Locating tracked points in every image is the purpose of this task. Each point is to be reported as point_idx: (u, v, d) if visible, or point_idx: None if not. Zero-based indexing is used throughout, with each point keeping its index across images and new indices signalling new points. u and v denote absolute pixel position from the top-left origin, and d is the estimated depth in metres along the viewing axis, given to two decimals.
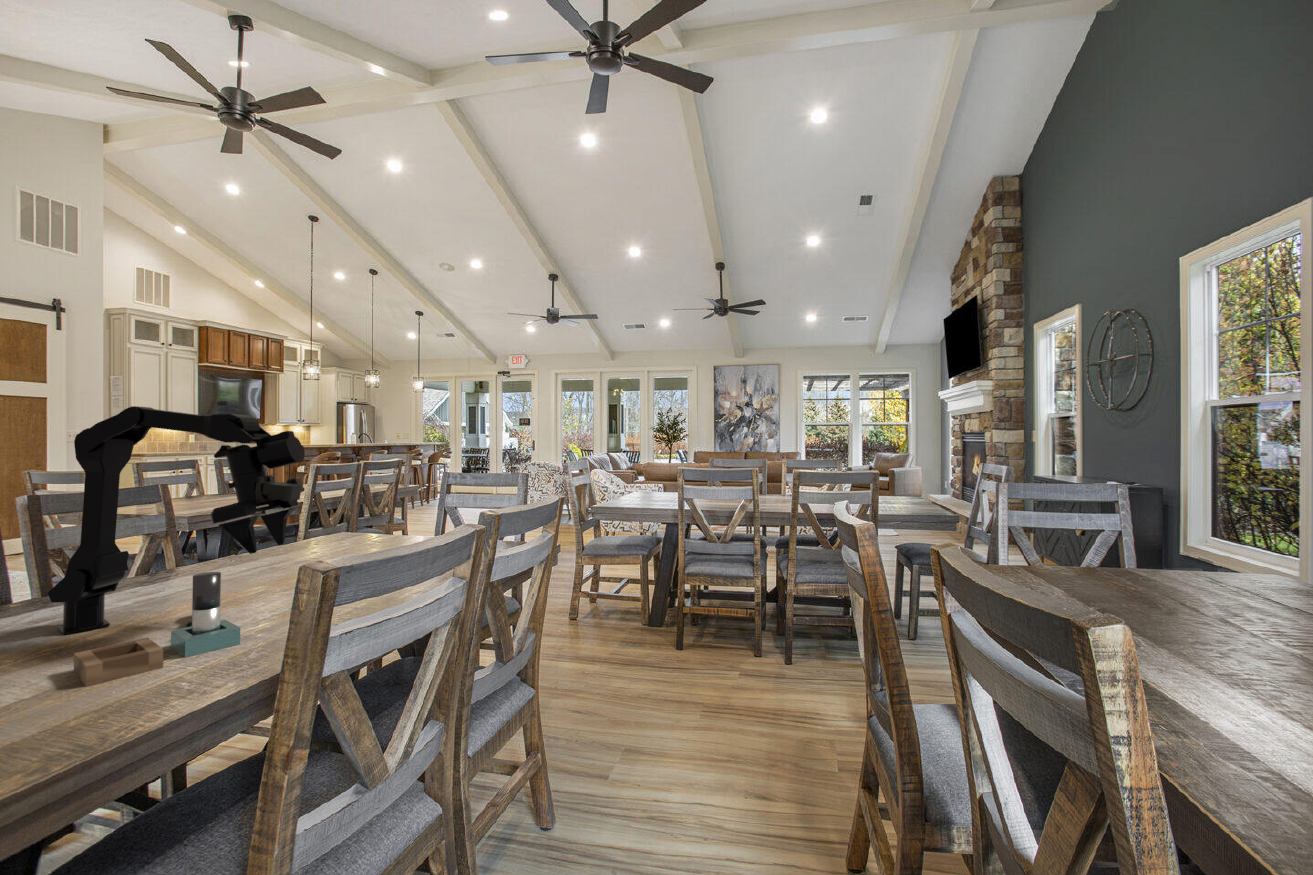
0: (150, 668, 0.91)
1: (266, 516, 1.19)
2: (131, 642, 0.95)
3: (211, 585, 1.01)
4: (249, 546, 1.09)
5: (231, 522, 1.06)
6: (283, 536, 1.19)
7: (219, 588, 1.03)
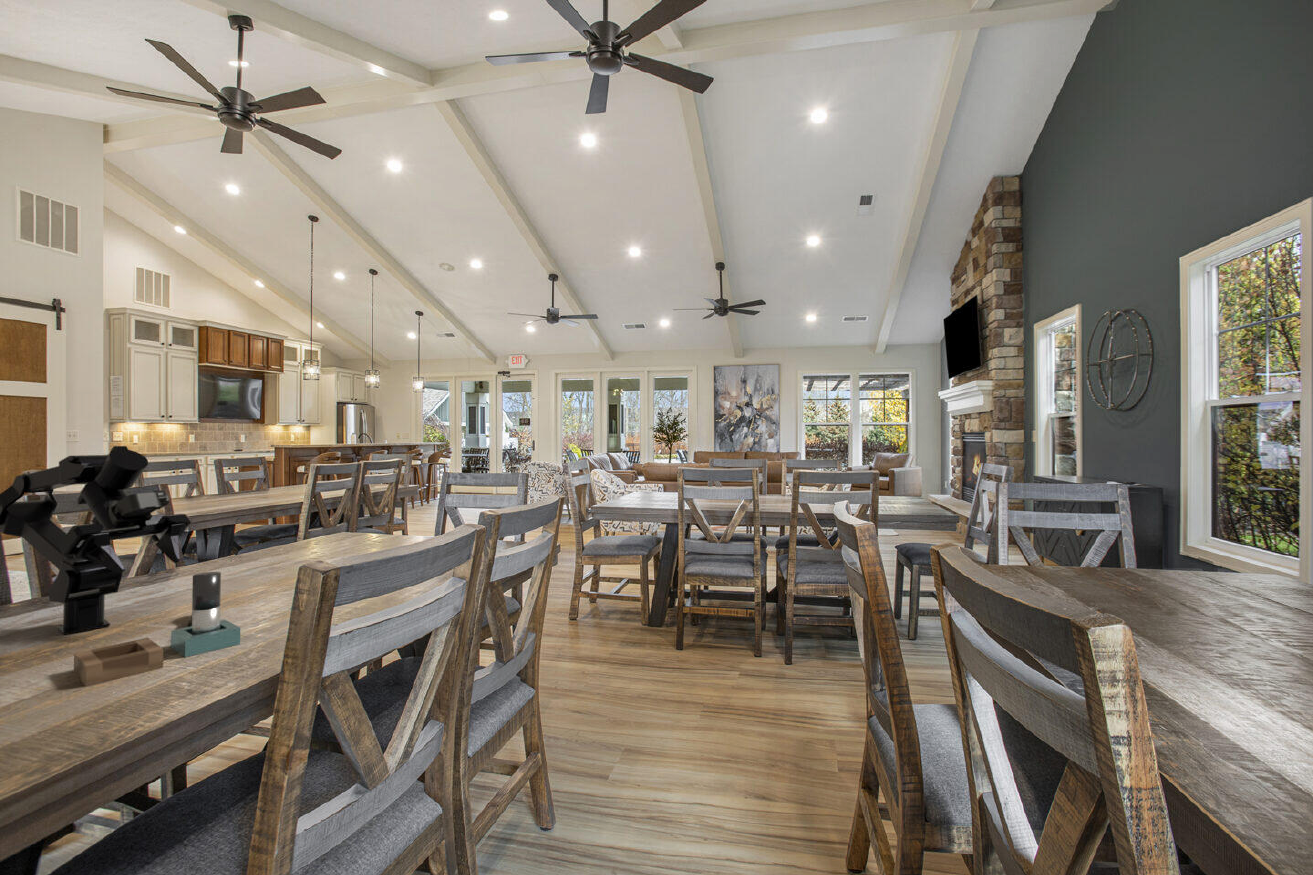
0: (150, 668, 0.91)
1: (159, 542, 1.12)
2: (131, 642, 0.95)
3: (211, 585, 1.01)
4: (114, 566, 1.01)
5: (80, 548, 0.99)
6: (177, 553, 1.11)
7: (219, 588, 1.03)
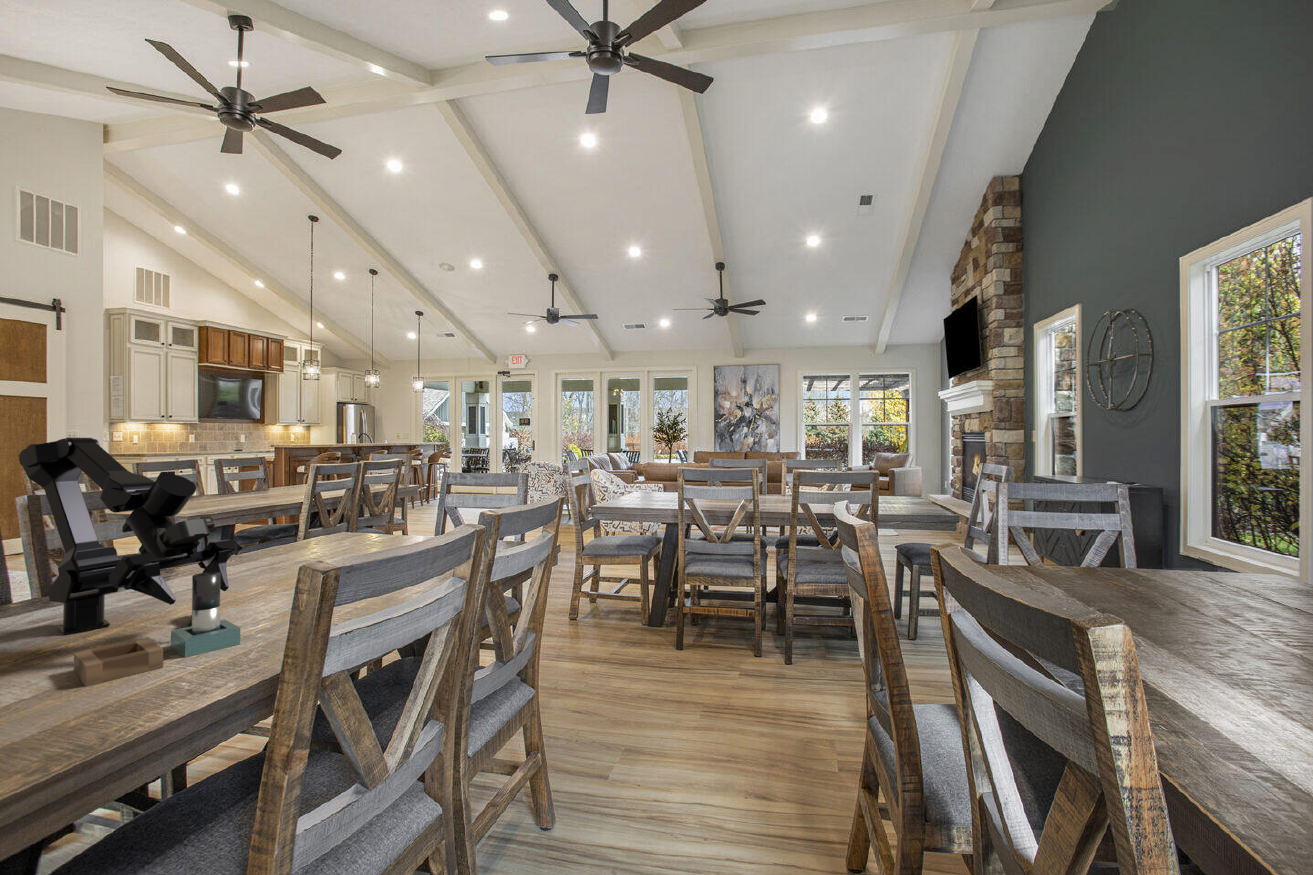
0: (150, 668, 0.91)
1: (206, 569, 1.09)
2: (131, 642, 0.95)
3: (211, 585, 1.01)
4: (165, 597, 0.98)
5: (130, 579, 0.96)
6: (225, 580, 1.07)
7: (219, 588, 1.03)
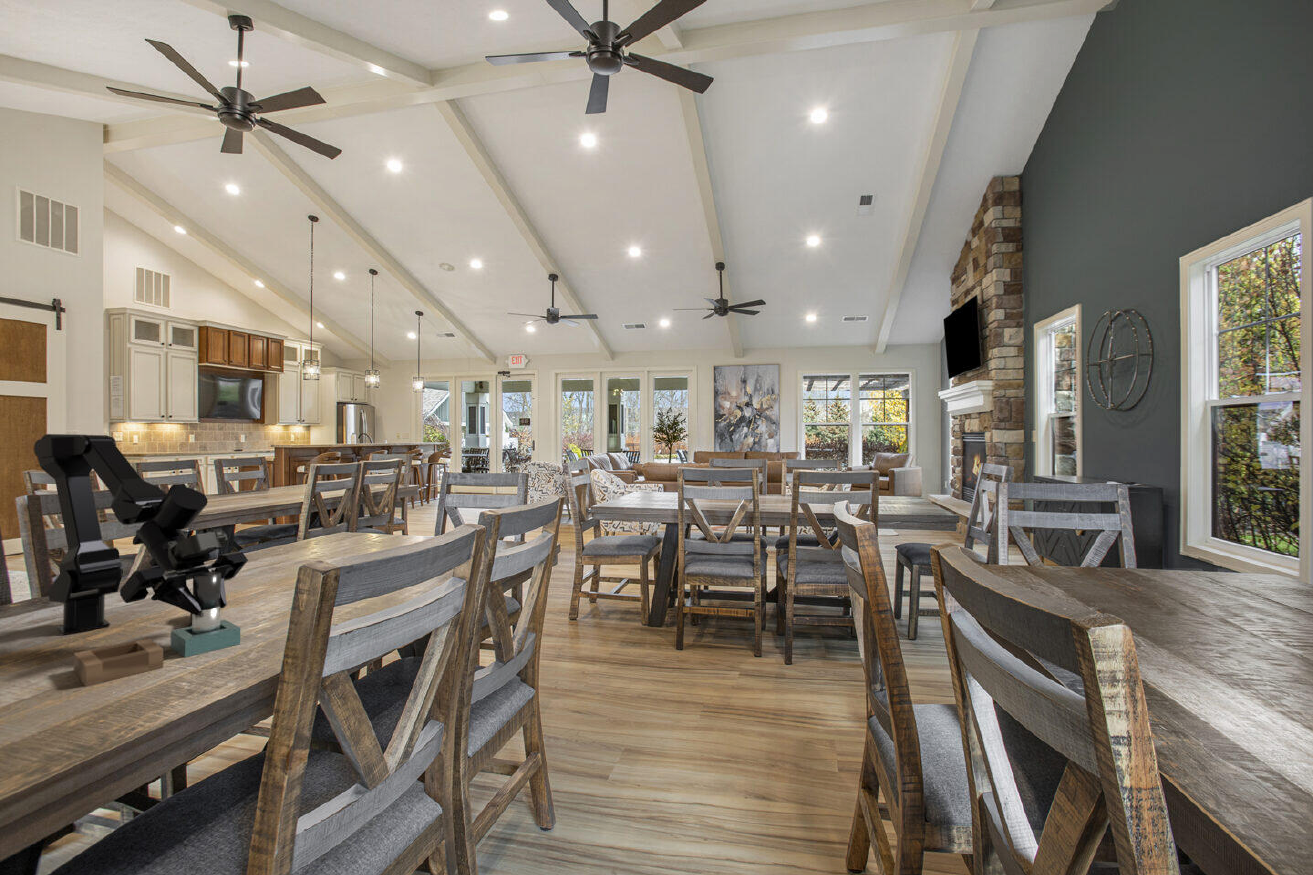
0: (150, 668, 0.91)
1: None
2: (131, 642, 0.95)
3: (212, 585, 1.01)
4: (191, 608, 0.99)
5: (158, 590, 0.98)
6: (223, 597, 1.04)
7: (219, 588, 1.03)
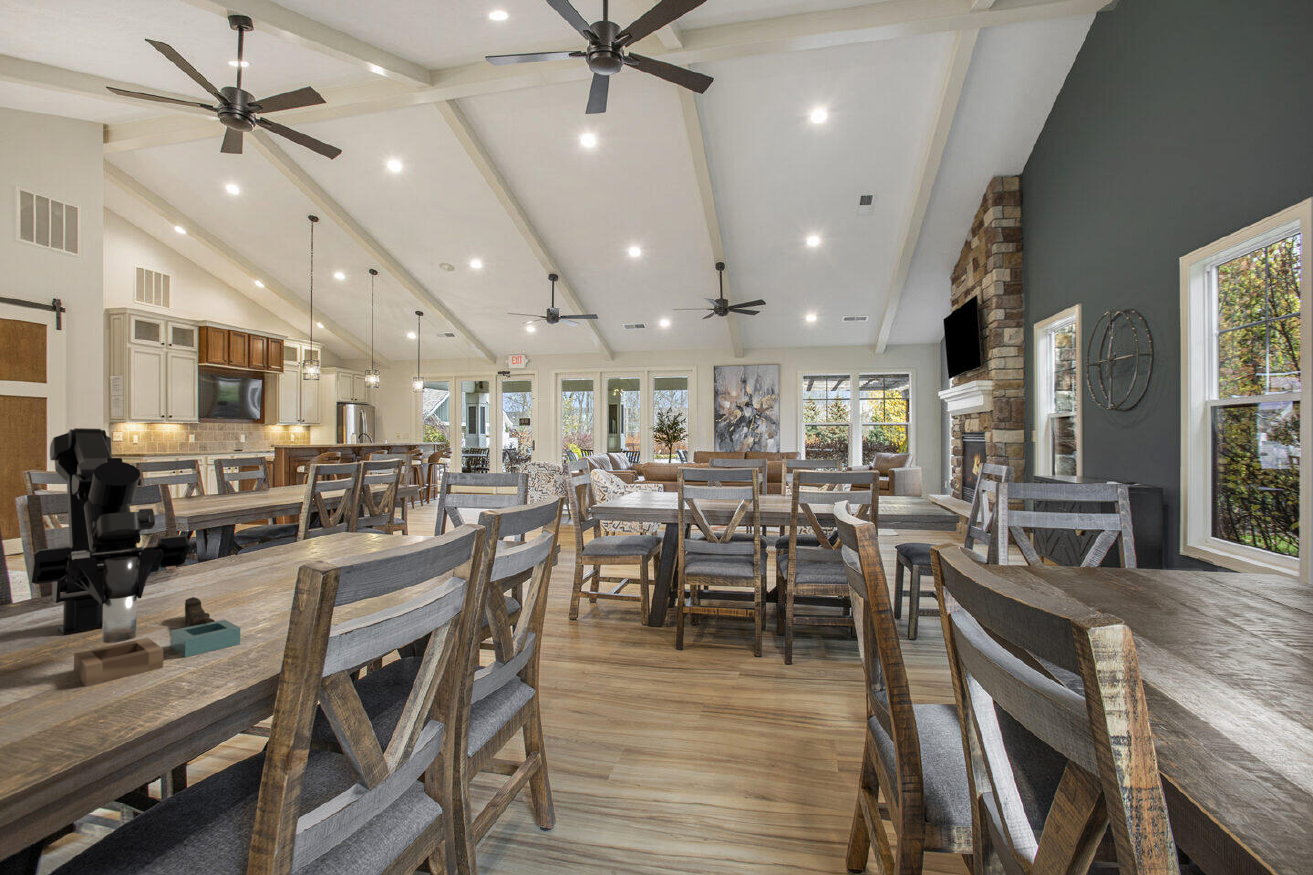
0: (150, 668, 0.91)
1: None
2: (131, 642, 0.95)
3: (119, 571, 0.90)
4: (96, 595, 0.89)
5: (67, 572, 0.89)
6: (141, 586, 0.92)
7: (132, 575, 0.91)
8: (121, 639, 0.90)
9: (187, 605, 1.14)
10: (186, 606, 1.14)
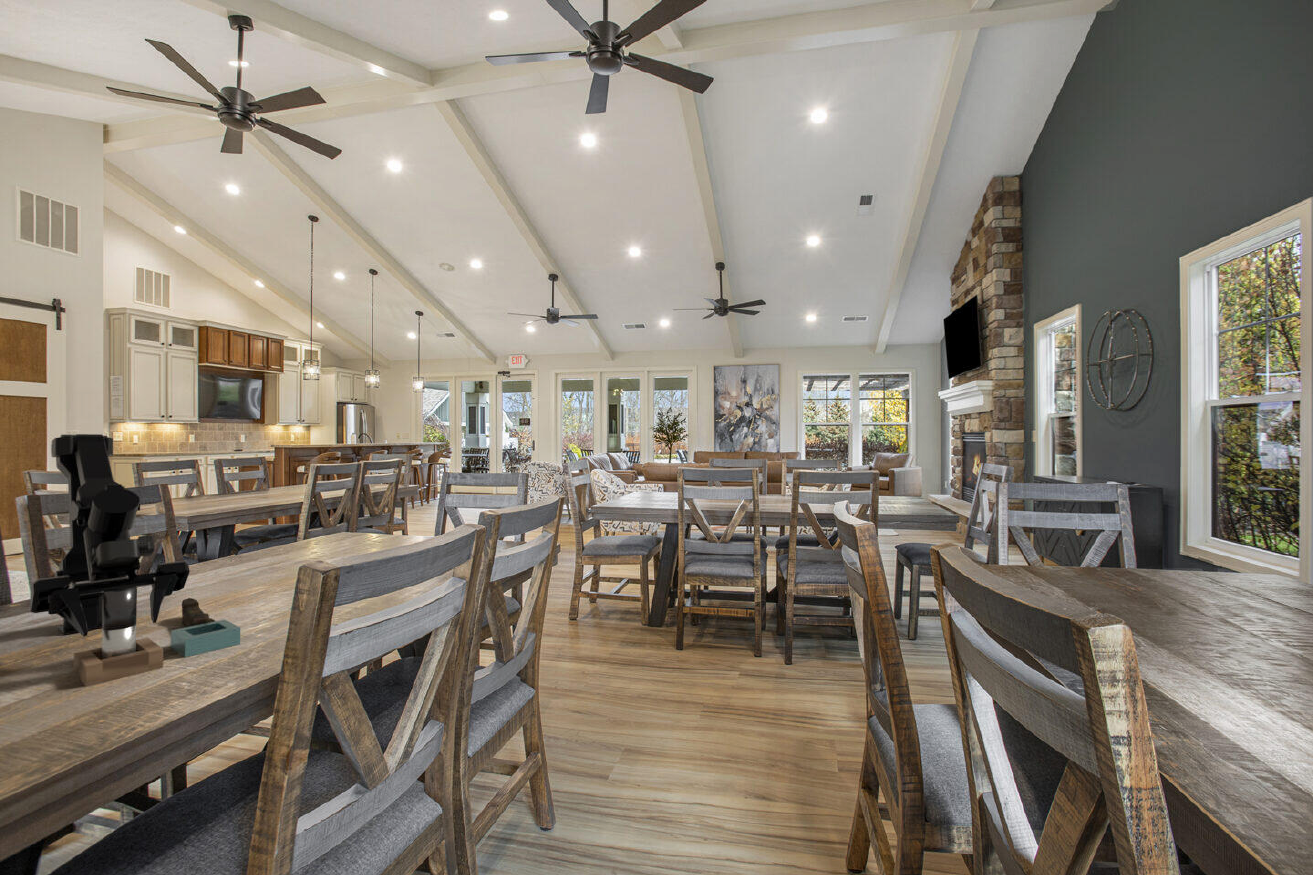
0: (150, 668, 0.91)
1: (150, 594, 0.97)
2: None
3: (118, 603, 0.90)
4: (79, 627, 0.87)
5: (49, 604, 0.87)
6: (155, 611, 0.94)
7: (131, 606, 0.91)
8: None
9: (184, 606, 1.14)
10: (184, 607, 1.14)
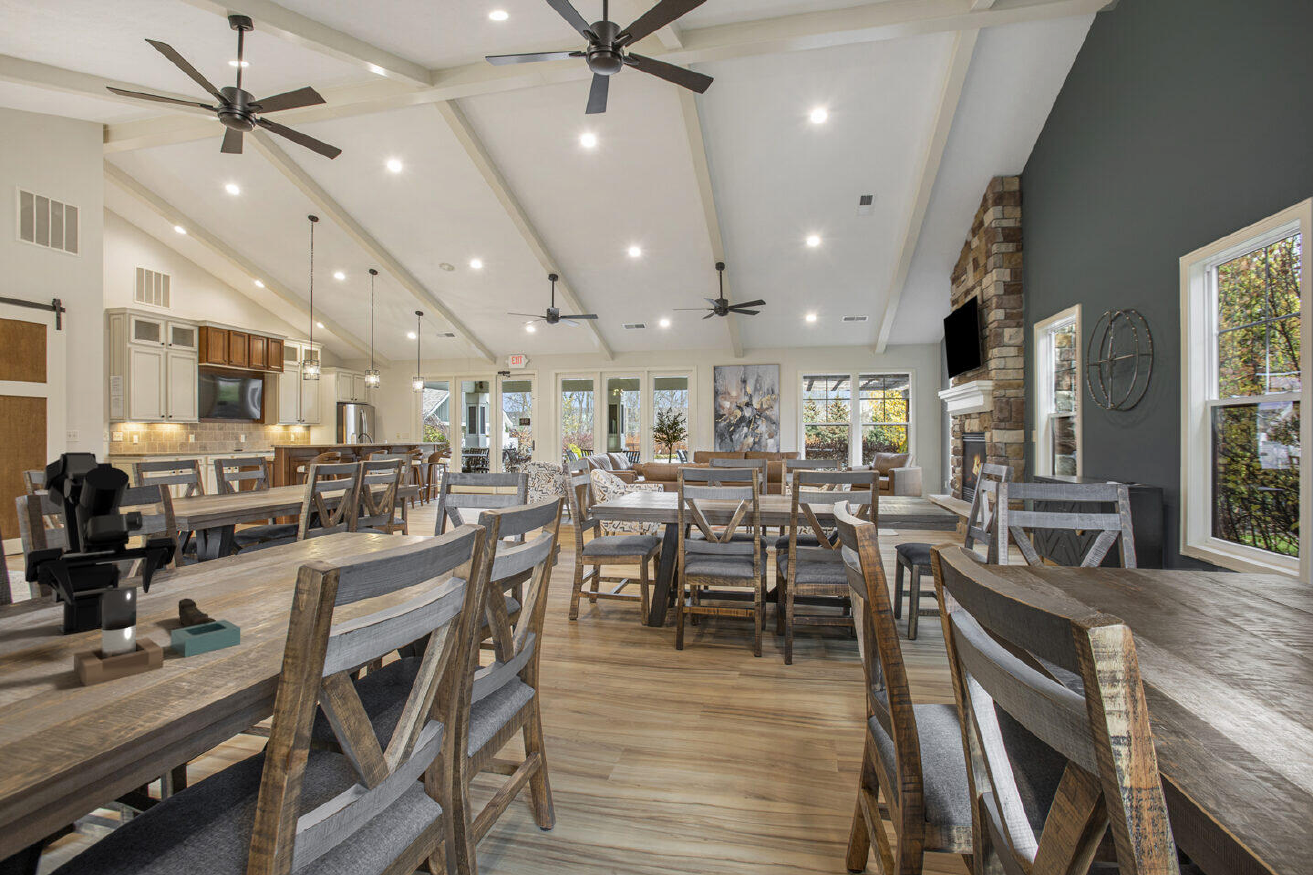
0: (150, 668, 0.91)
1: (143, 567, 1.03)
2: None
3: (117, 603, 0.89)
4: (66, 596, 0.92)
5: (38, 574, 0.92)
6: (147, 582, 1.00)
7: (130, 606, 0.91)
8: None
9: (182, 606, 1.13)
10: (181, 607, 1.13)
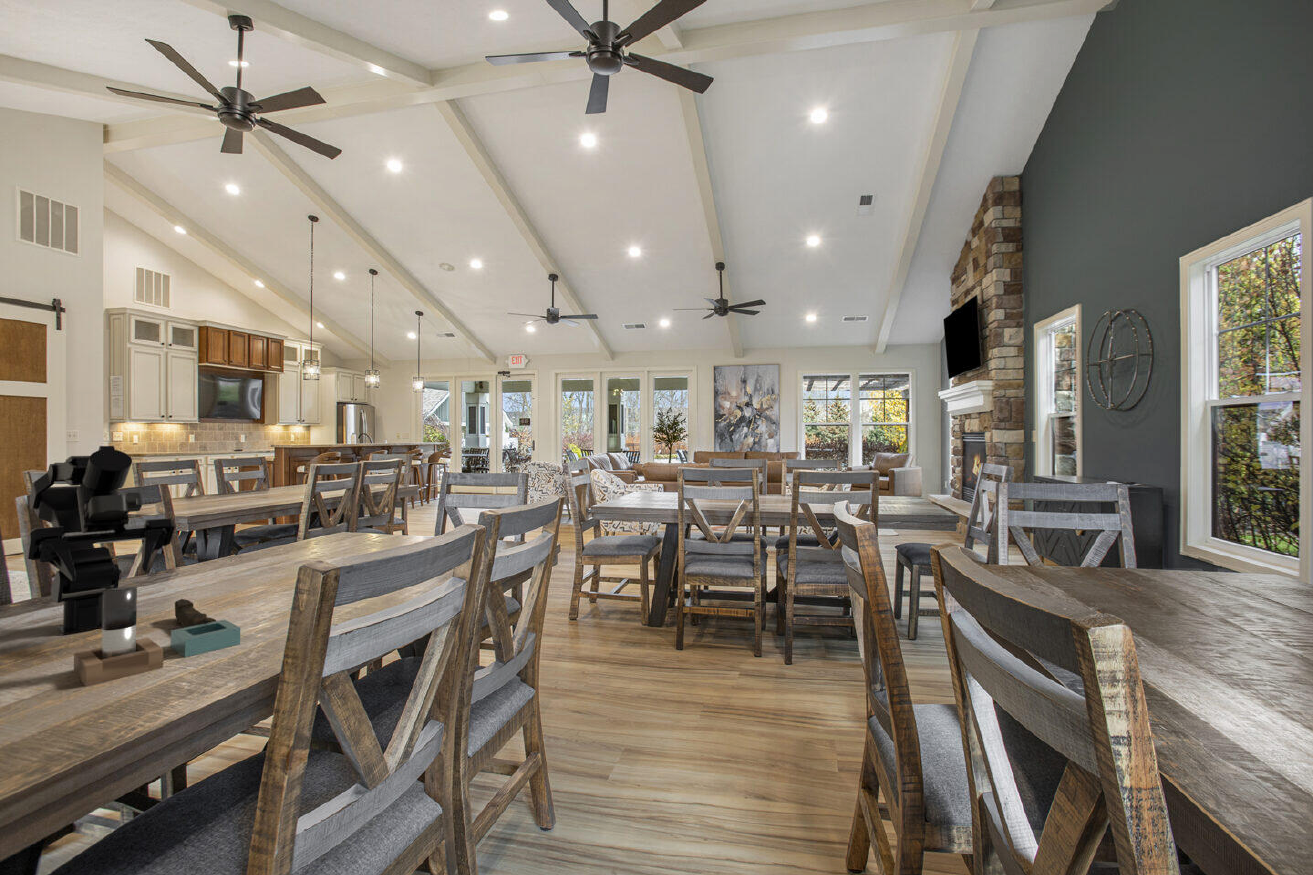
0: (150, 668, 0.91)
1: (142, 547, 1.06)
2: None
3: (118, 603, 0.90)
4: (67, 573, 0.95)
5: (40, 552, 0.95)
6: (146, 561, 1.03)
7: (131, 606, 0.91)
8: None
9: (179, 607, 1.13)
10: (178, 608, 1.13)
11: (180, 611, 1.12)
